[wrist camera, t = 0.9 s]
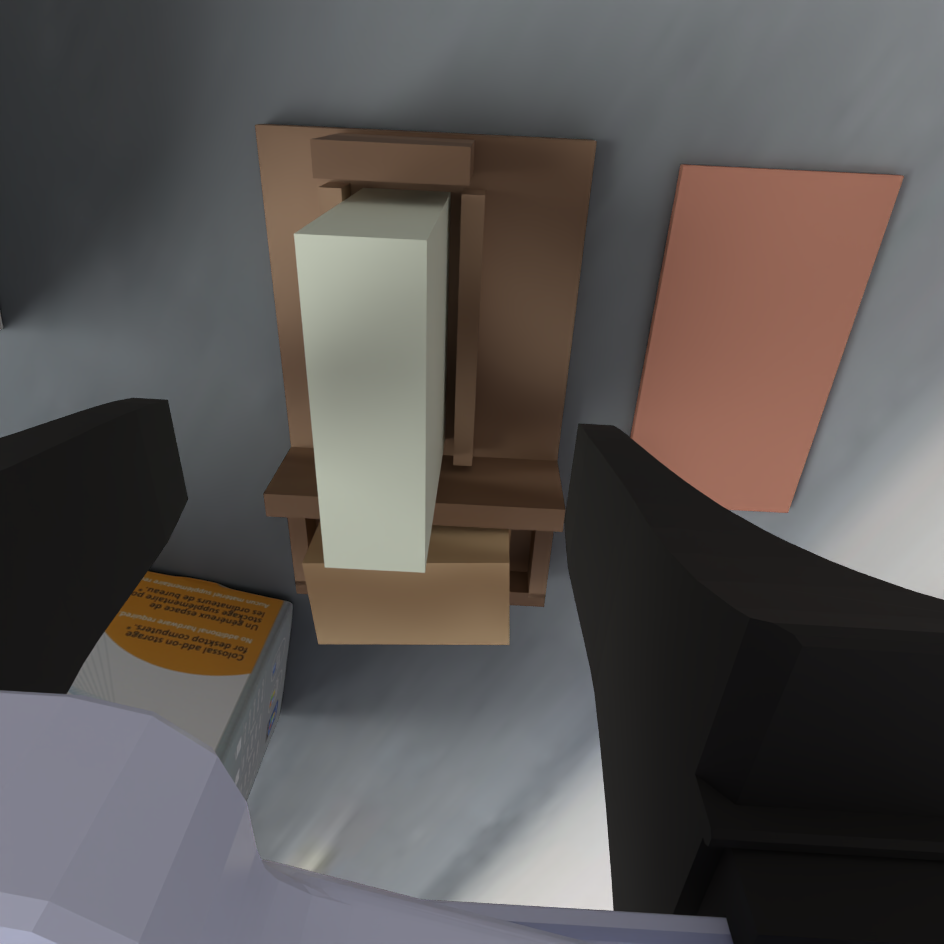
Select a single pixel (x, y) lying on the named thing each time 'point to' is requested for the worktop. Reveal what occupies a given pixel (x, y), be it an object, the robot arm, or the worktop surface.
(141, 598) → the hard drive box
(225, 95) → the worktop surface
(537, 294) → the rack
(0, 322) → the supplement box
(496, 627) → the offcut upper
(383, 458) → the panel
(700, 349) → the mat
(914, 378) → the worktop surface
